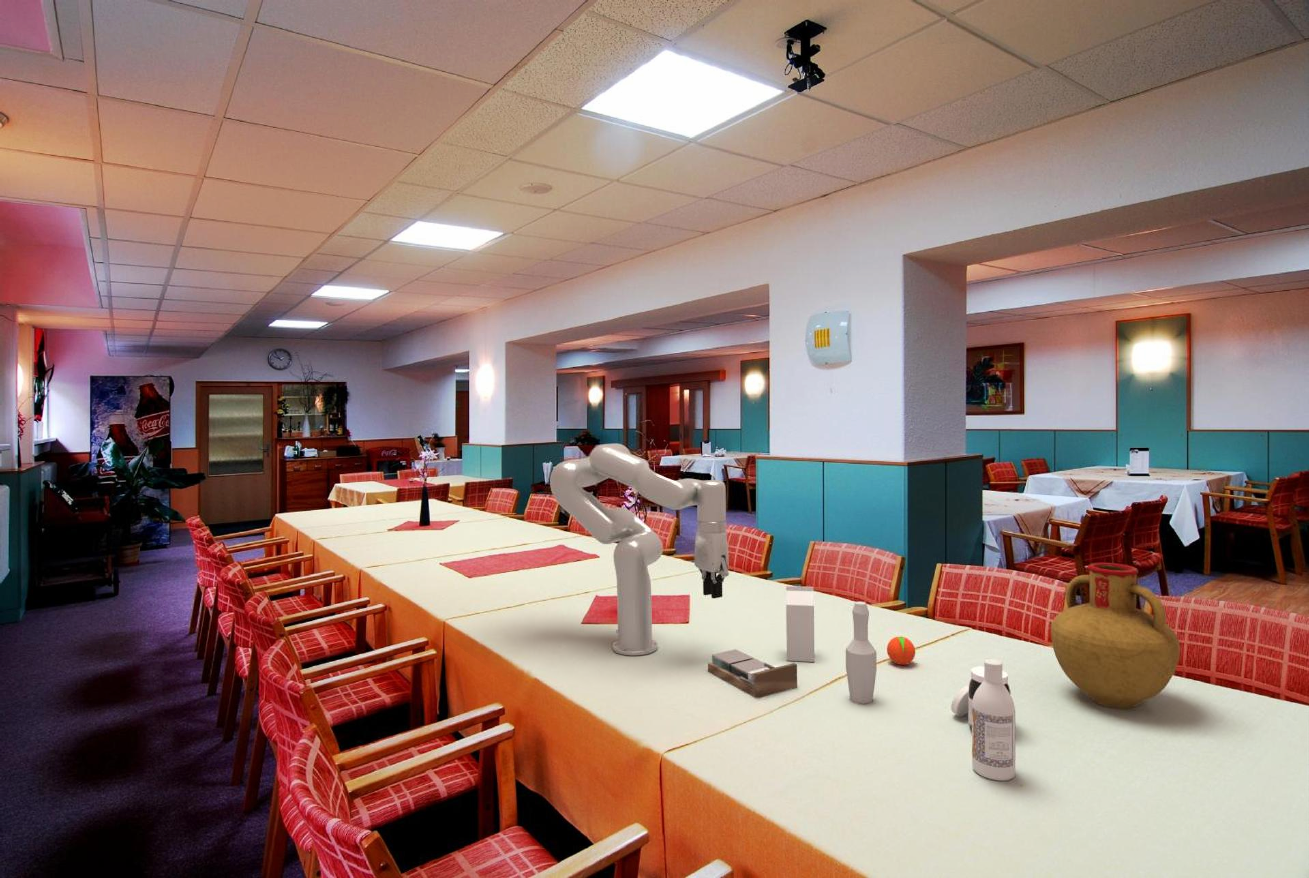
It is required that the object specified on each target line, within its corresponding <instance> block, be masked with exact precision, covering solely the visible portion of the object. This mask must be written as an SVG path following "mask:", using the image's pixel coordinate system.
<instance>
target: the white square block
mask: <svg viewBox="0 0 1309 878" xmlns="http://www.w3.org/2000/svg"><path fill="white" fill-rule="evenodd" d="M765 663H766V662H763V661H761V660H759V659H757V658H754V659H752V660H748V661H744V662H740V663H736V664H731V670H732V674H734V675H736V676H738V677H743V678H745V679H747V680H748V672H750V671H754V670H758V669H762V668H766V667H765V666H764V664H765Z"/></svg>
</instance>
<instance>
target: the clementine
mask: <svg viewBox="0 0 1309 878" xmlns="http://www.w3.org/2000/svg"><path fill="white" fill-rule="evenodd" d="M886 653H887V655H888V657H889V659H890V660H891V661H892V662H893V663H895V664H898V665H908V664H910V663H911V662H912V661H913V660H914V658H915V656H916V648H915V645H914V643H913V642H912V640H910V639H908V638H907V637H904V636H895V637H893V638H891V639H890V640H889V642H888V644H887V647H886Z"/></svg>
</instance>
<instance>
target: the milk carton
mask: <svg viewBox="0 0 1309 878" xmlns="http://www.w3.org/2000/svg"><path fill="white" fill-rule="evenodd" d="M785 588H786V589H785V593H786V596H785V598H786V599H785V617H786V618H785V619H786V623H785V625H786V627H785V628H786V631H785V632H786V661H791V662H809V663H810V662H811V663H812V662H813V663H814V662H815V661H816V660H815V599H814V598H815V595H814V593H815V592H814V587H813V586H799V585H798V586H796V585H794V586H791V585H788V586H787V585H786V586H785Z"/></svg>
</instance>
